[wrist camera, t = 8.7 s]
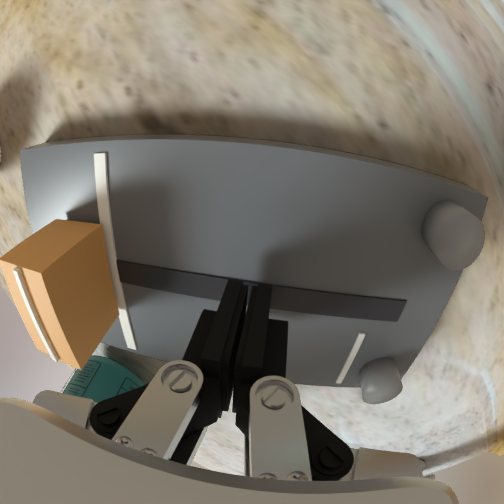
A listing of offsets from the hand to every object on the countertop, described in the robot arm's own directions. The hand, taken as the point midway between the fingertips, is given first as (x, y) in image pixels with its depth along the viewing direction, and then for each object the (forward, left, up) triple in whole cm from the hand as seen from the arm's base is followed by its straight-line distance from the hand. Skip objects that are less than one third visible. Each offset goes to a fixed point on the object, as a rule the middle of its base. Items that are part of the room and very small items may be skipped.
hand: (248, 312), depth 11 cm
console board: (+2, 0, -3) cm, 3 cm away
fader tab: (+8, 0, -1) cm, 8 cm away
